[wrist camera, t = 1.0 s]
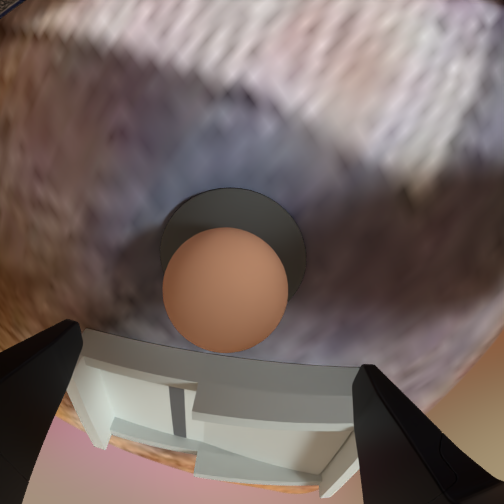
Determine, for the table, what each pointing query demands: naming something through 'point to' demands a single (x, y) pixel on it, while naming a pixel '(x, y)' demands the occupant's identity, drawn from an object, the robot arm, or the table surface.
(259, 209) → the dark grey disc
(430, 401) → the table surface
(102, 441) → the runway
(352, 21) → the table surface
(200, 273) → the ball
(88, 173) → the table surface
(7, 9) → the juice carton
